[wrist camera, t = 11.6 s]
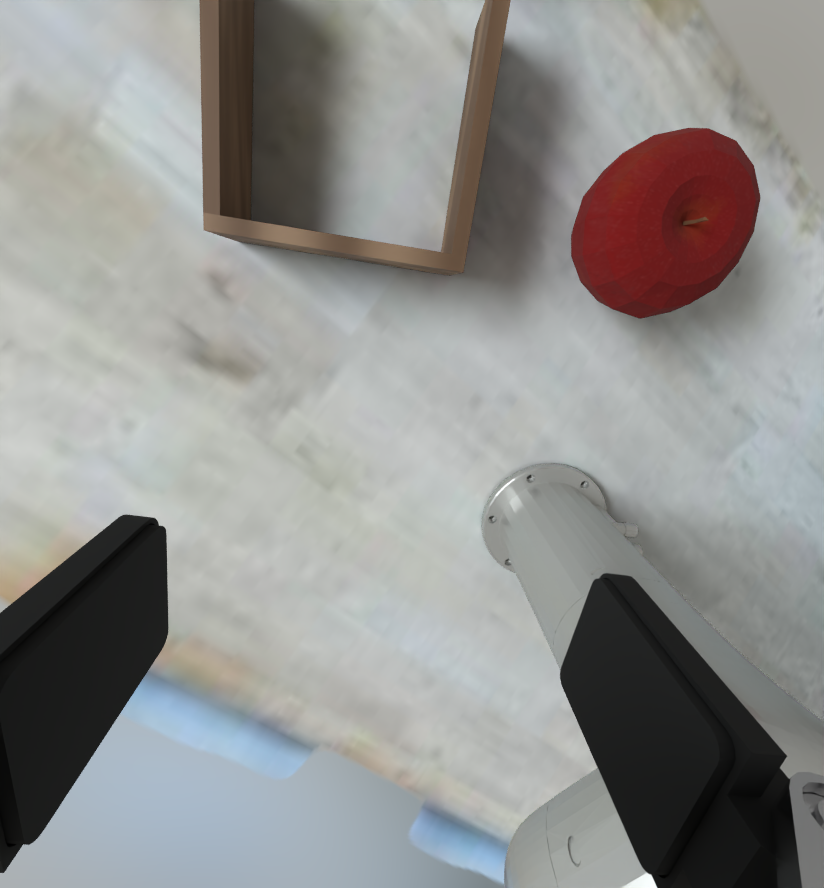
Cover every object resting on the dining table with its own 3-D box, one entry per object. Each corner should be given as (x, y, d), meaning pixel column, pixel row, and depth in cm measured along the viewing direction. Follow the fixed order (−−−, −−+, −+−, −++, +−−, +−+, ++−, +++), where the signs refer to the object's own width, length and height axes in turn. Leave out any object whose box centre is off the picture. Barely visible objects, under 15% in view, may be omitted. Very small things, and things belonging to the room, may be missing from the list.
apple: (602, 336, 37) (692, 356, 26) (515, 254, 34) (576, 237, 24) (699, 228, 35) (845, 200, 24) (614, 129, 32) (734, 46, 21)
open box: (489, 31, 29) (516, -36, 23) (449, 275, 35) (463, 272, 29) (239, -25, 28) (197, -114, 22) (237, 241, 33) (203, 229, 27)
